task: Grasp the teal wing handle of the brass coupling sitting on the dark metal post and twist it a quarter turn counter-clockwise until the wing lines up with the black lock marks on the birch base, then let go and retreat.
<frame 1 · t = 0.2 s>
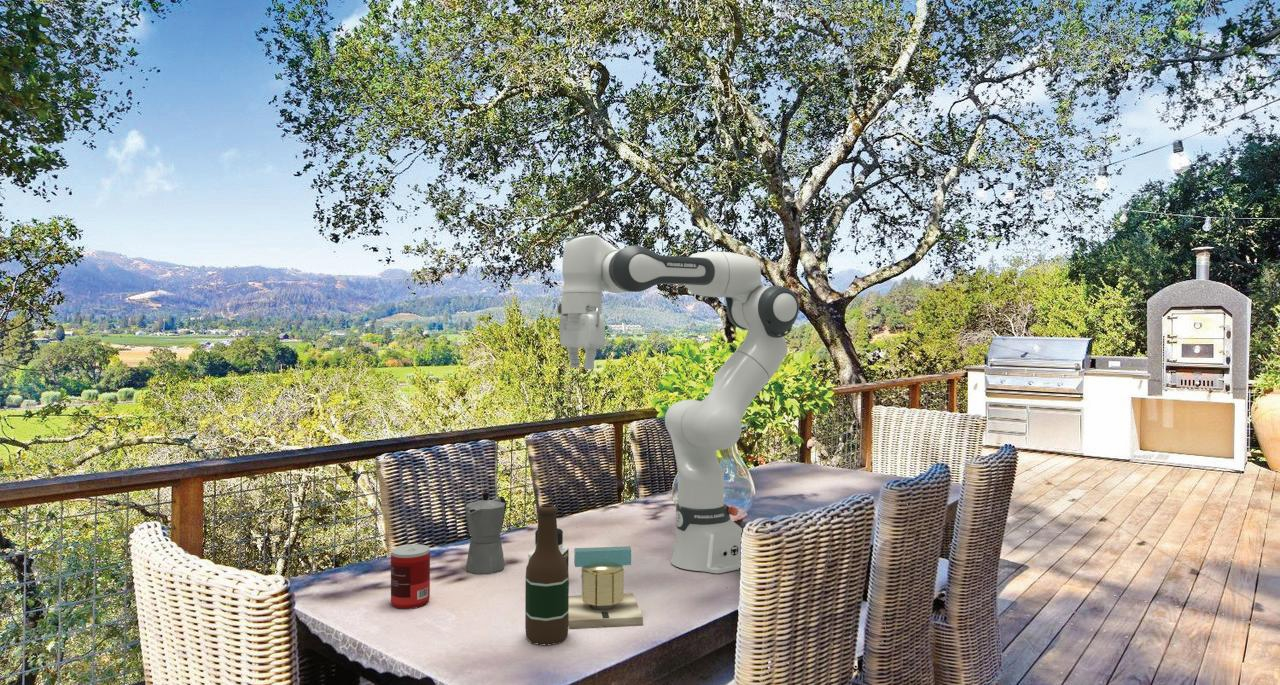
hand: (581, 368, 178), 47 cm above the table, tool pointing down, fingers open, 8 cm apart
coffeepot: (487, 568, 187), on the table
beer bottle: (546, 638, 144), on the table
canned food: (410, 603, 162), on the table
coupling: (602, 573, 156), point 8 cm above the table, hinge at 0.0°
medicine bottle: (548, 583, 176), on the table
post: (602, 613, 156), on the table
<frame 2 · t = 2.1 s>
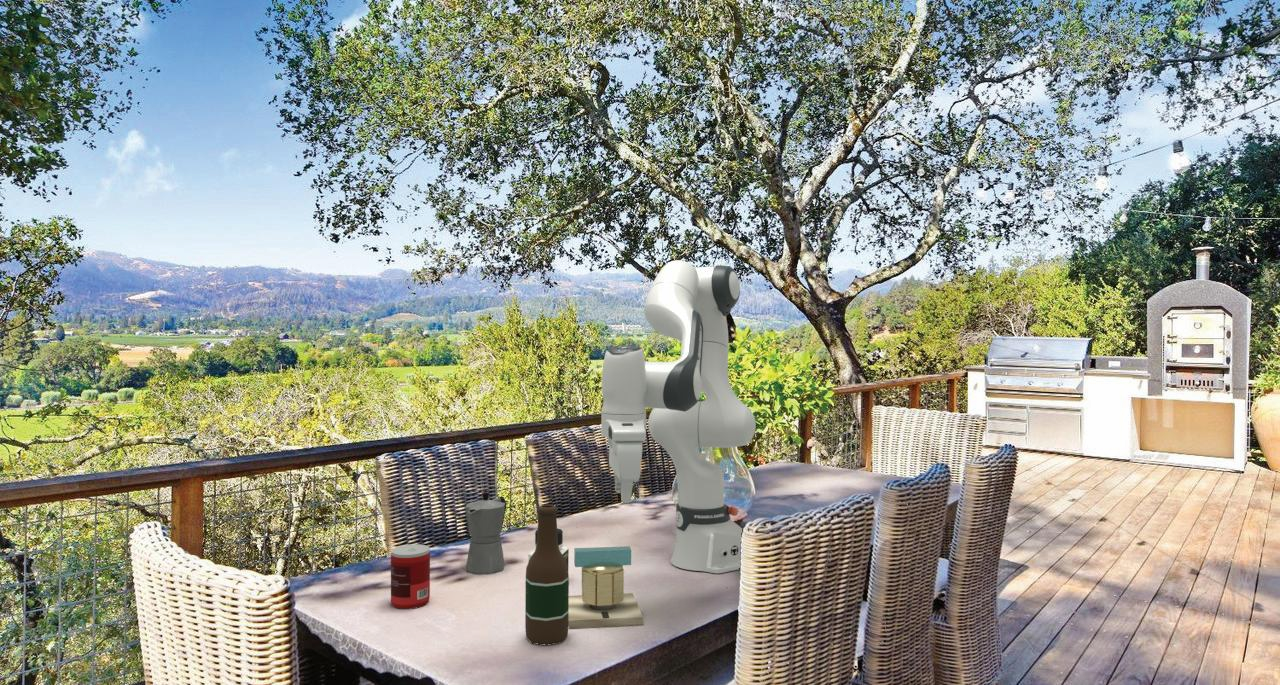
hand: (623, 497, 157), 23 cm above the table, tool pointing down, fingers open, 8 cm apart
nothing on the table moved.
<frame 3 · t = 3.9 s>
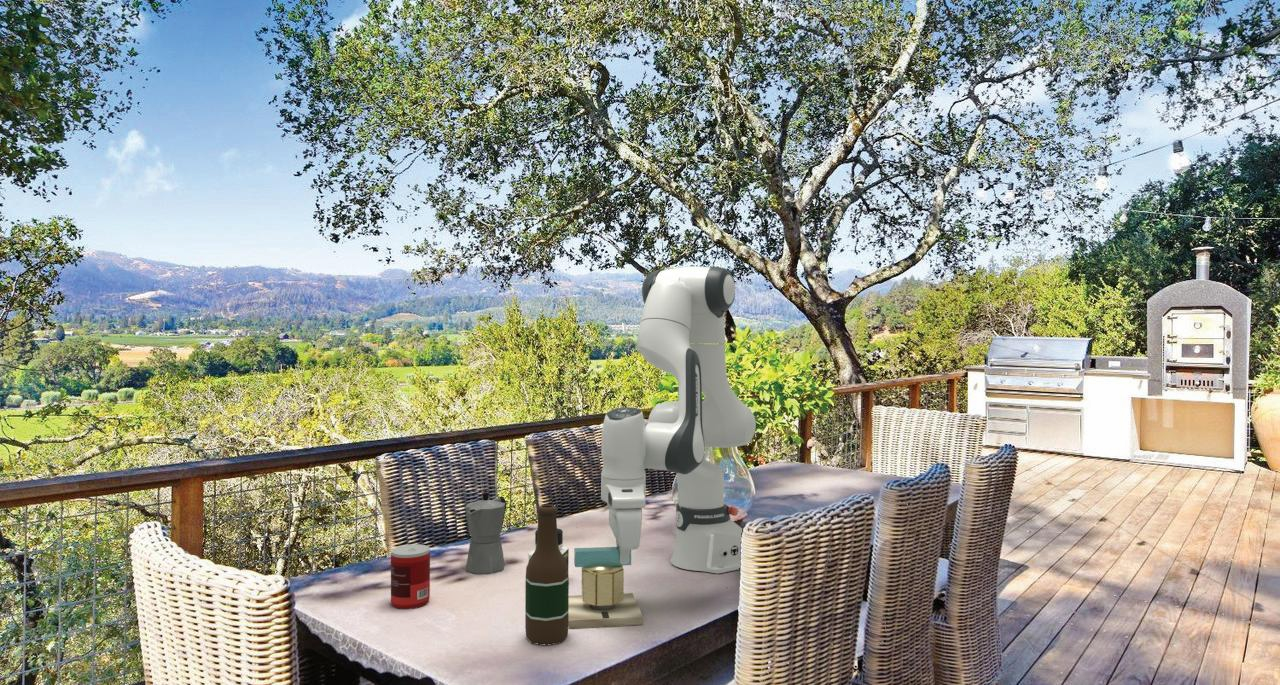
hand: (622, 560, 157), 10 cm above the table, tool pointing down, fingers closed on coupling, 2 cm apart
coupling: (602, 573, 156), point 8 cm above the table, hinge at 0.3°, touching gripper
everything else where it was.
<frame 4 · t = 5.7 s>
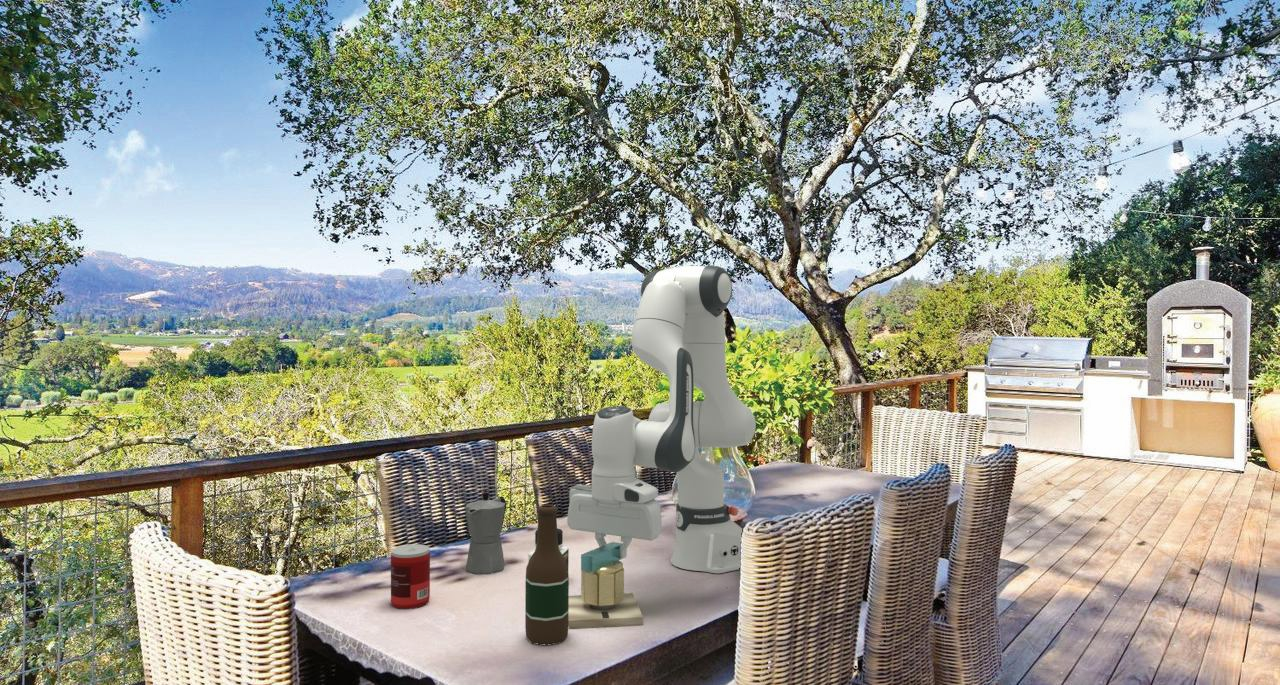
hand: (613, 556, 160), 10 cm above the table, tool pointing down, fingers closed on coupling, 2 cm apart
coupling: (602, 573, 156), point 8 cm above the table, hinge at 50.3°, touching gripper
everything else where it was.
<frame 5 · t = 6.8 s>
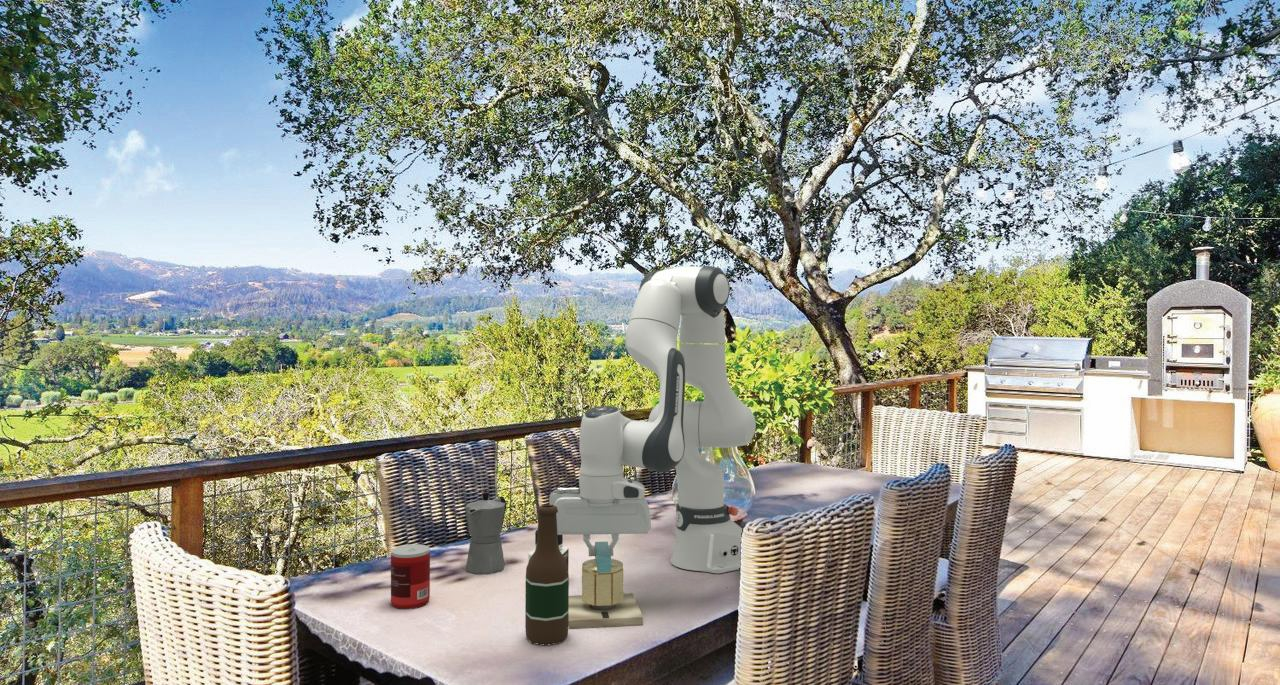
hand: (600, 555, 160), 10 cm above the table, tool pointing down, fingers closed on coupling, 2 cm apart
coupling: (602, 573, 156), point 8 cm above the table, hinge at 87.3°, touching gripper
everything else where it was.
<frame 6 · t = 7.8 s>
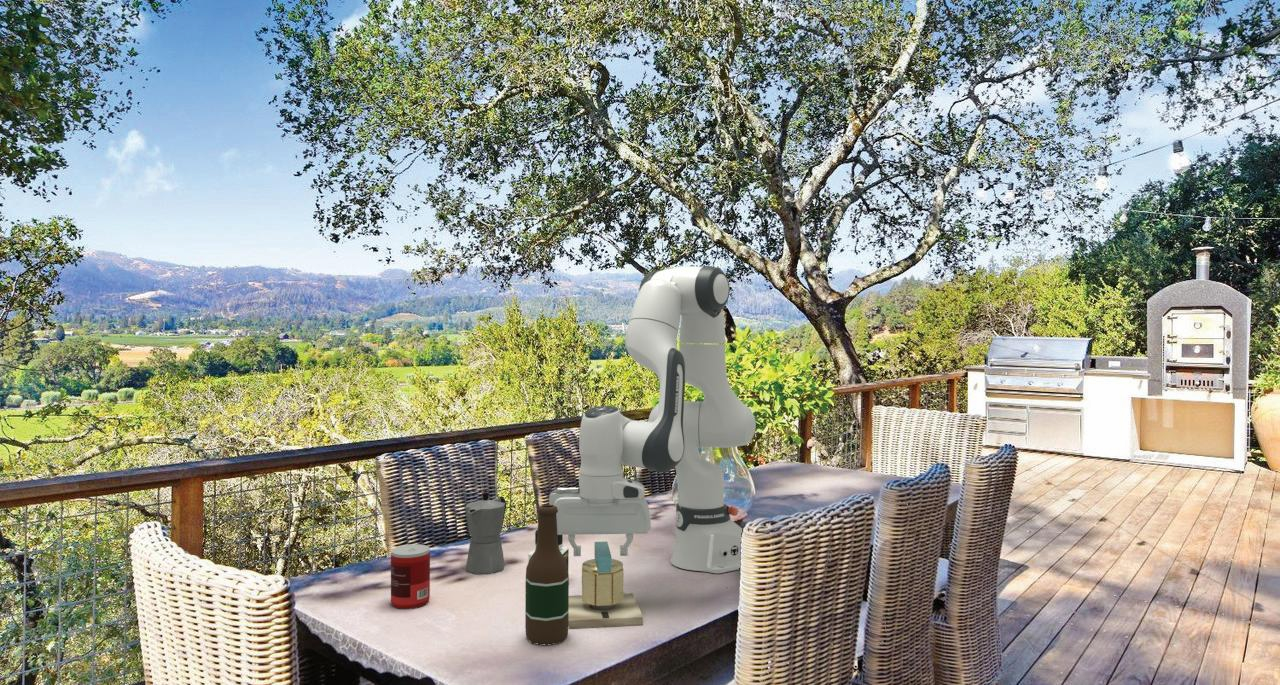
hand: (600, 555, 160), 10 cm above the table, tool pointing down, fingers open, 8 cm apart
coupling: (602, 573, 156), point 8 cm above the table, hinge at 88.1°
everything else where it was.
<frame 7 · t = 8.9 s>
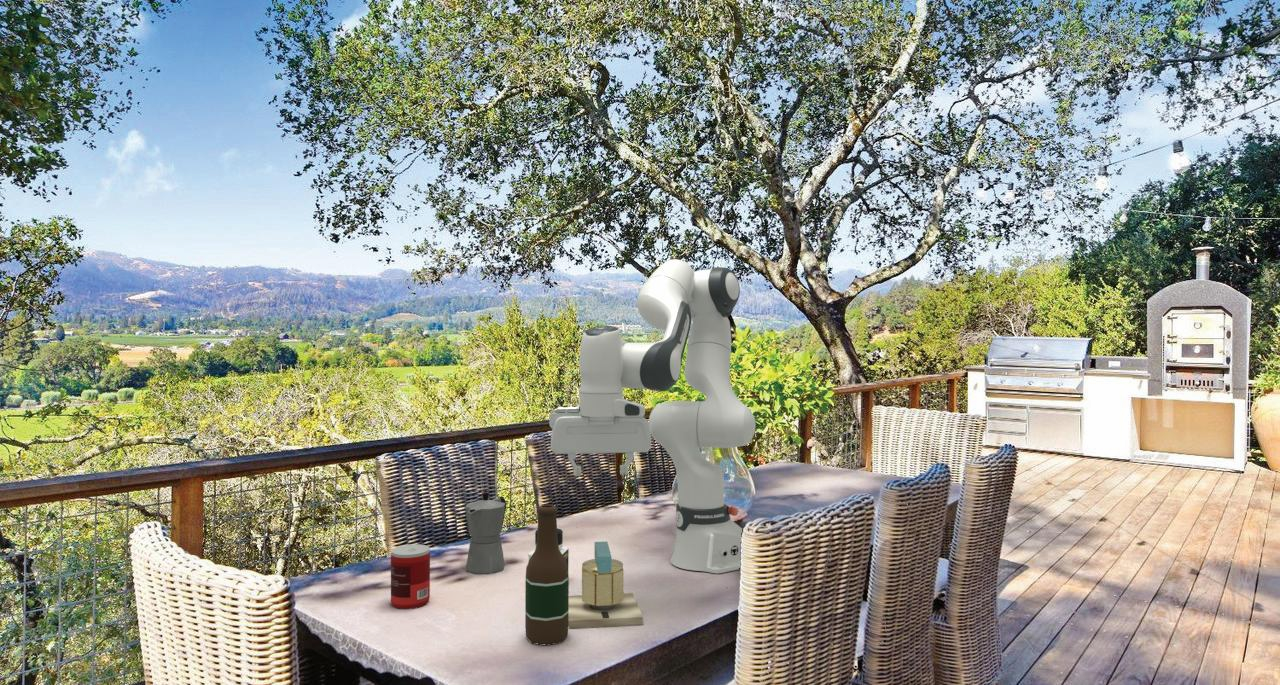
hand: (600, 475, 160), 27 cm above the table, tool pointing down, fingers open, 8 cm apart
nothing on the table moved.
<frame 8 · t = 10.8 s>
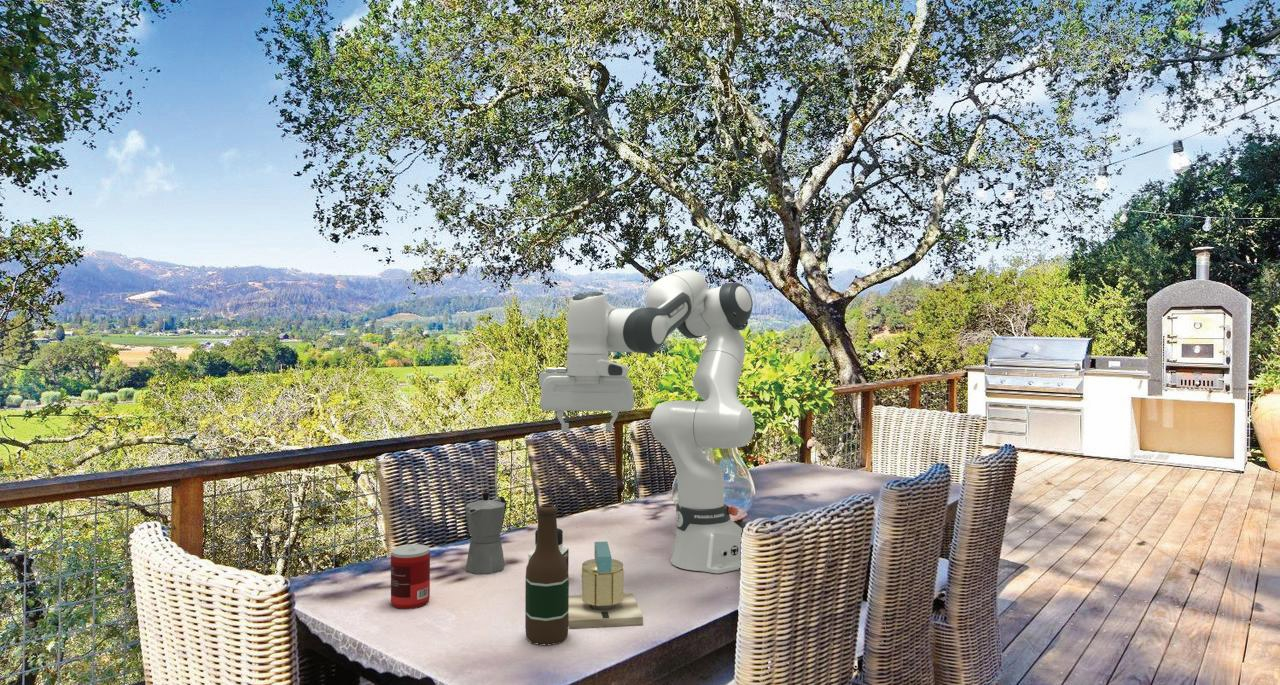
hand: (587, 431, 170), 34 cm above the table, tool pointing down, fingers open, 8 cm apart
nothing on the table moved.
at the end: coupling at +88° (first picture: +0°); the gripper is holding nothing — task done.
